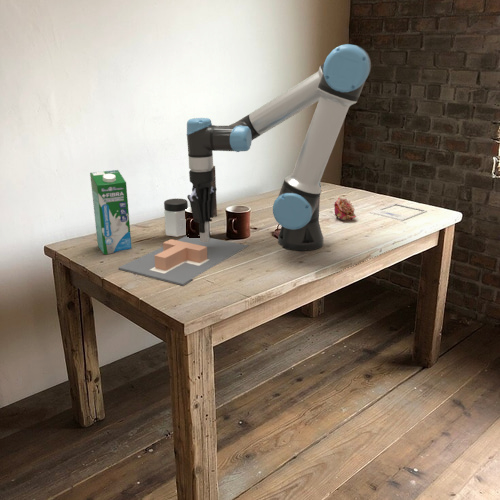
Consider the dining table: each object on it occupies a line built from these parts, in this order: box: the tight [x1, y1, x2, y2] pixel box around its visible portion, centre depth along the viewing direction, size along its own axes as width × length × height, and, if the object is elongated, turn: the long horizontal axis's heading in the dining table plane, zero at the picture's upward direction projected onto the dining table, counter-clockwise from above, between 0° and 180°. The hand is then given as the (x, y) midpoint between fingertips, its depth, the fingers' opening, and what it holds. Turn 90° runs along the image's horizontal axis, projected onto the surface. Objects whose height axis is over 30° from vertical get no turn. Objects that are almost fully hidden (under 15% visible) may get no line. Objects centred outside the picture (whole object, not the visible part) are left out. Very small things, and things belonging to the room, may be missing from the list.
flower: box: [333, 197, 357, 223], centre depth 207 cm, size 10×9×8 cm
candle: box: [211, 165, 218, 218], centre depth 209 cm, size 8×7×20 cm
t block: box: [154, 238, 207, 271], centre depth 165 cm, size 14×14×4 cm
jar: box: [163, 198, 189, 237], centre depth 190 cm, size 9×8×12 cm
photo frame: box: [369, 203, 428, 222], centre depth 217 cm, size 15×1×18 cm
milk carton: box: [89, 169, 132, 255], centre depth 175 cm, size 9×9×25 cm
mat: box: [118, 235, 250, 287], centre depth 170 cm, size 24×36×1 cm, turn 150°
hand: (204, 241), depth 177 cm, fingers closed
